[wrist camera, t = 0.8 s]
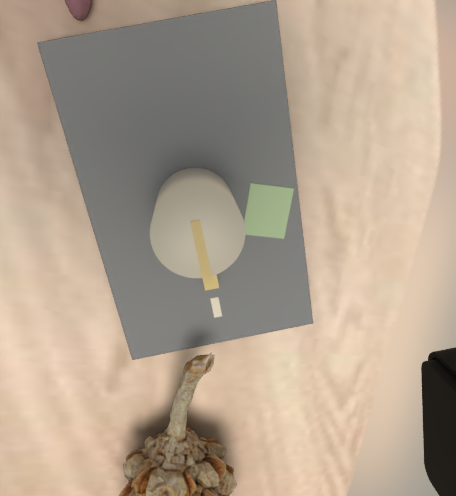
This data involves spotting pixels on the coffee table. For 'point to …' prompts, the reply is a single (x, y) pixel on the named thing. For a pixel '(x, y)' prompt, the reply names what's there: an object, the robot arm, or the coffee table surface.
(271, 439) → the coffee table surface
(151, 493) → the pine cone
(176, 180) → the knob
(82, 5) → the video game controller
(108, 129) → the dial board
